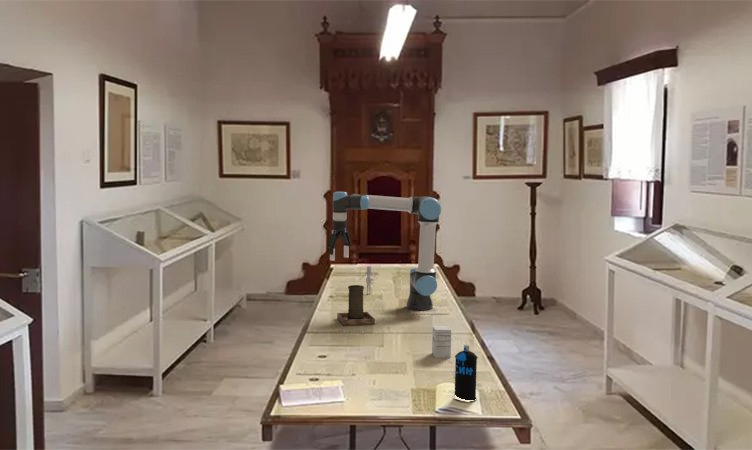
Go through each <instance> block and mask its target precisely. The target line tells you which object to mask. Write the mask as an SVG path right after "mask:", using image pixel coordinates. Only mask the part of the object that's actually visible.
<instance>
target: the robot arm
mask: <svg viewBox="0 0 752 450" xmlns="http://www.w3.org/2000/svg"><path fill="white" fill-rule="evenodd" d="M368 209H370V210H371V209H373V210H384V211H398V212H408V213H409V214H414V215H417V223H418V224H419V226H420V227H419V242H418V244H419V245H418V260H417V261H418V264H417V267H413V268H411V269H410V271H409V294H408V298H407V302H406V305H405V307H406V309H409V310H413V311H429V310H432V309H433V307H434V306H433V305H434V304H433V301H432V297H431V295H433V294H434V293H435V292H436V290H437V288H438V283H437V282H438V281H437V270H436V269H435V267H434V264H435V249H436V246H435V245H436V227H437V224H439V223H440V222H439V221H440V216H441V213H442V206H441V203H440V202H439V201H438V199H437V198H434V197H431V196H424V195H423V196H410V197H397V196H386V195H385V196H384V195H375V194H374V195H371V194H360V193H359V194H358V193H352V194H351V195H348V192H346V191H335V192H333V194H332V227H333V228H334V229H331V230H330V234H329V238H328V242H327V245H326V248H328V249H329V261H332V262H334V261H335V260H336V248H335V246H336V244H337V242H338V240H339V239H340V238H341V240H342V242H343V244H344V246H343V258H347V259H348V258H349V251H350V246H351V245H352V240H351V237H350V233H349V228H348V227H347V226H348V225H347V223H348V222H347V219H348V218H347V217H348V215H347V213H348V212H347V211H348V210H361V211H363V210H368Z"/></svg>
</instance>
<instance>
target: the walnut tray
mask: <svg viewBox="0 0 752 450" xmlns="http://www.w3.org/2000/svg"><path fill="white" fill-rule="evenodd" d="M363 314H364V316H363V317H364V319H352V320H348V319H347V318H348V312H338V313H336V316H337V317H336V319H337V320H338V322H339V323H340V324H341V325H342V326H343V327H348V326H349V327H350V326H351V327H352V326H368V325H371V326H373V325H376V318H375V317H374V316H373V315H371V313H369V312H368V311H363Z"/></svg>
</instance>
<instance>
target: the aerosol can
mask: <svg viewBox="0 0 752 450" xmlns="http://www.w3.org/2000/svg"><path fill="white" fill-rule="evenodd" d="M478 357H479V356H477V355H476V354H475V353H474V352H473V351H470V345H469V344H463V350H461V351H458V352H457V354H455V356H454V358H455V364H454V365H455V368H454V370H455V373H454V396H455V395H456V396H457V397H459V398H461V399H465V400H475V399H476V400H477V395H476V393H477V367H478V365H477V363H478V361H477V360H478ZM476 400H475V401H476Z"/></svg>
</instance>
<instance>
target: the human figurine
mask: <svg viewBox="0 0 752 450" xmlns="http://www.w3.org/2000/svg"><path fill="white" fill-rule="evenodd" d="M366 275H367V277H366V278H365V279H366V280H365V282H366V295H371V290H372V288H371V287H372V285H371V284H372V280H373V279H372V278H373V277H374V278H376V279H377V280H379V279H378V277H376V275H375V274H374V273H373V272H372V266H369V265H368V266H366V272H365V274H363V275H362V277H360V278H359V280H362V278H364V277H365V276H366ZM371 275H373V277H371Z"/></svg>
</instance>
